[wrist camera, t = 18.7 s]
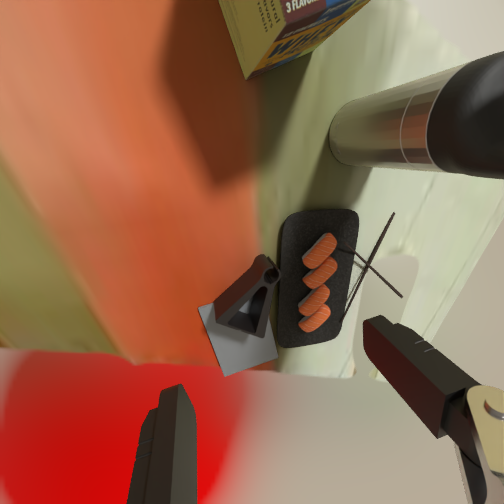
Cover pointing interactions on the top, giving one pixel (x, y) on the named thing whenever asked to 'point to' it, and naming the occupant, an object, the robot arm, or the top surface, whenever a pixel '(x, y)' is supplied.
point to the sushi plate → (318, 274)
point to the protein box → (282, 28)
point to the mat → (237, 342)
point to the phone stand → (250, 283)
